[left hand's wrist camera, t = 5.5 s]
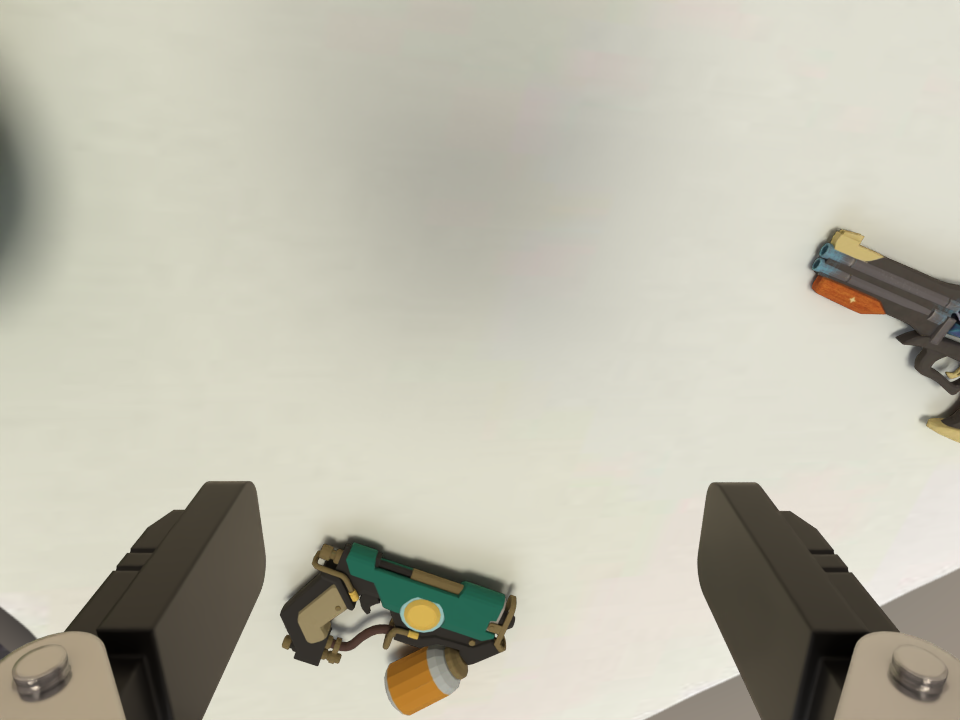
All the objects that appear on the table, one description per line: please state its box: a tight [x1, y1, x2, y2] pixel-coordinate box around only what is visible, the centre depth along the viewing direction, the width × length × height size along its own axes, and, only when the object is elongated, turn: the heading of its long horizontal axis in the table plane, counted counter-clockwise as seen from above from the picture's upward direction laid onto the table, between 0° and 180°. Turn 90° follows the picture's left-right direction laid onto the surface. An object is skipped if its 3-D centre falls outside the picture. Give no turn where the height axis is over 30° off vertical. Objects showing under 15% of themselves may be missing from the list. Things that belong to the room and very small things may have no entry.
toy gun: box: [812, 229, 960, 443], centre depth 44 cm, size 3×19×10 cm
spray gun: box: [280, 542, 516, 715], centre depth 52 cm, size 4×17×15 cm
